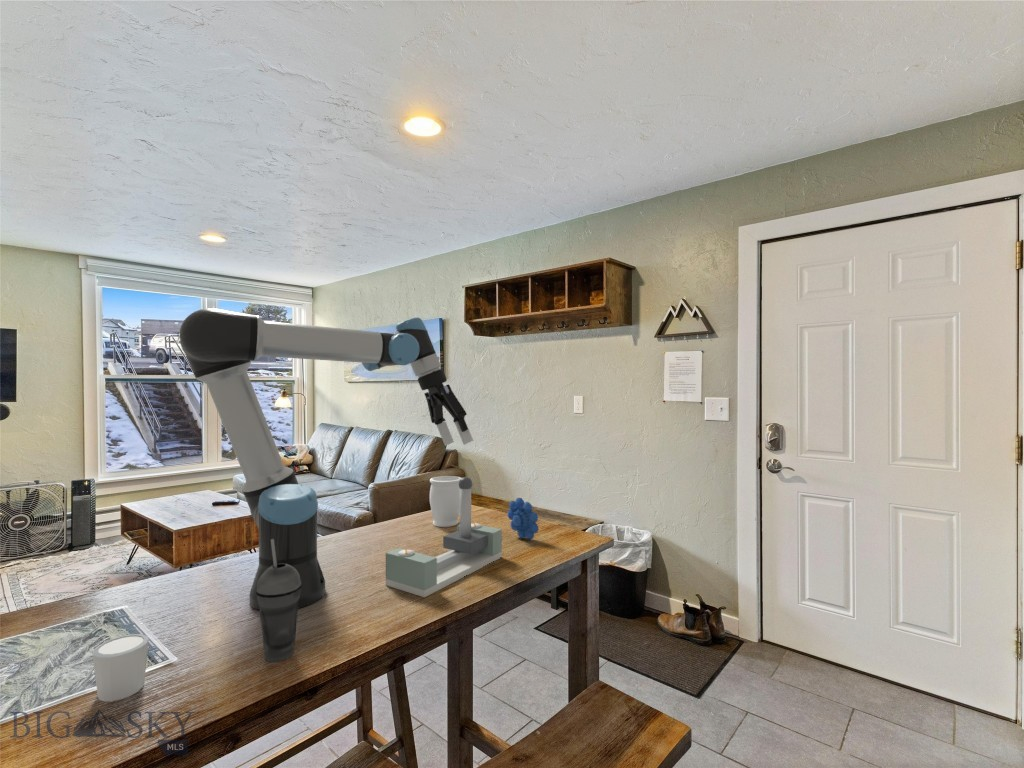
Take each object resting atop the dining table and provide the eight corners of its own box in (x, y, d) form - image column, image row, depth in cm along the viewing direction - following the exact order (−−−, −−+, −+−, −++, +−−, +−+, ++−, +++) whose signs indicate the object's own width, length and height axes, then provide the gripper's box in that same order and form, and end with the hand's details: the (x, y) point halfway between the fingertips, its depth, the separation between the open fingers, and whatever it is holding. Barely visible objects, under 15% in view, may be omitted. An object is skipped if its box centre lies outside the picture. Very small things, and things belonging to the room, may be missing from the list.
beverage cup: (290, 667, 84) (290, 546, 84) (246, 666, 84) (246, 545, 84) (309, 644, 92) (308, 532, 91) (268, 643, 92) (268, 532, 92)
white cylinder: (90, 710, 73) (90, 661, 73) (94, 686, 79) (93, 641, 79) (149, 693, 77) (149, 647, 77) (148, 672, 83) (148, 629, 83)
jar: (450, 517, 175) (450, 474, 175) (468, 524, 167) (468, 478, 167) (423, 523, 168) (423, 477, 168) (440, 530, 160) (440, 482, 160)
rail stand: (424, 597, 111) (424, 560, 111) (385, 585, 118) (385, 550, 118) (501, 557, 136) (501, 527, 136) (466, 549, 143) (466, 520, 143)
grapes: (498, 537, 153) (498, 497, 153) (513, 532, 158) (513, 494, 158) (528, 546, 146) (528, 504, 146) (543, 540, 151) (543, 500, 151)
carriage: (470, 554, 128) (471, 481, 127) (443, 547, 132) (443, 477, 132) (487, 546, 133) (487, 476, 133) (460, 540, 138) (460, 473, 138)
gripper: (458, 360, 132) (489, 435, 134) (426, 374, 154) (453, 439, 155) (433, 370, 128) (465, 447, 130) (403, 383, 150) (431, 449, 152)
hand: (458, 443), depth 143 cm, fingers open, 13 cm apart
